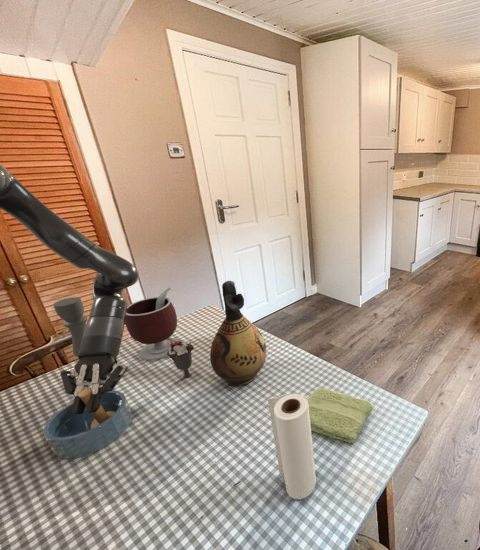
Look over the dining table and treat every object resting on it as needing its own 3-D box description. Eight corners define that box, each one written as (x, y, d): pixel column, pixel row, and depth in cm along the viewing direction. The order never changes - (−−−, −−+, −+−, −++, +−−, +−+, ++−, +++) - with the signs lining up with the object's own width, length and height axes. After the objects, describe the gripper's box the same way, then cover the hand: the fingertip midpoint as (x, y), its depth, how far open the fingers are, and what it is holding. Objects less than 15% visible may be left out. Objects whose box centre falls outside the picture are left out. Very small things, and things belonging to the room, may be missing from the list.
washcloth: (317, 390, 87) (316, 381, 85) (374, 408, 80) (374, 399, 79) (289, 425, 75) (288, 415, 74) (354, 450, 69) (353, 440, 68)
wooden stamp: (87, 434, 72) (63, 403, 66) (101, 414, 77) (79, 384, 71) (111, 432, 73) (89, 401, 67) (123, 412, 77) (104, 382, 71)
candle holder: (106, 364, 98) (78, 294, 88) (113, 372, 94) (84, 300, 85) (81, 375, 93) (49, 302, 84) (87, 383, 90) (54, 309, 80)
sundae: (169, 382, 90) (156, 340, 84) (189, 368, 95) (177, 327, 90) (186, 388, 88) (173, 344, 82) (205, 373, 93) (194, 332, 88)
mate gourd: (156, 365, 97) (138, 311, 89) (127, 356, 101) (107, 303, 94) (196, 339, 110) (184, 290, 103) (169, 332, 115) (155, 284, 107)
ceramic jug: (276, 379, 91) (263, 289, 79) (221, 402, 83) (198, 304, 71) (260, 351, 104) (246, 270, 92) (211, 368, 96) (189, 281, 84)
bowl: (37, 468, 66) (24, 446, 63) (79, 415, 79) (70, 396, 76) (115, 453, 69) (105, 432, 66) (143, 405, 82) (136, 386, 79)
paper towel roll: (321, 489, 61) (313, 409, 53) (292, 507, 58) (279, 424, 50) (307, 461, 67) (298, 384, 59) (280, 475, 64) (267, 397, 56)
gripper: (59, 336, 71) (35, 417, 64) (123, 331, 73) (107, 409, 66) (83, 342, 78) (64, 416, 71) (141, 338, 80) (128, 409, 73)
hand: (85, 412), depth 69 cm, fingers closed on wooden stamp, 2 cm apart
